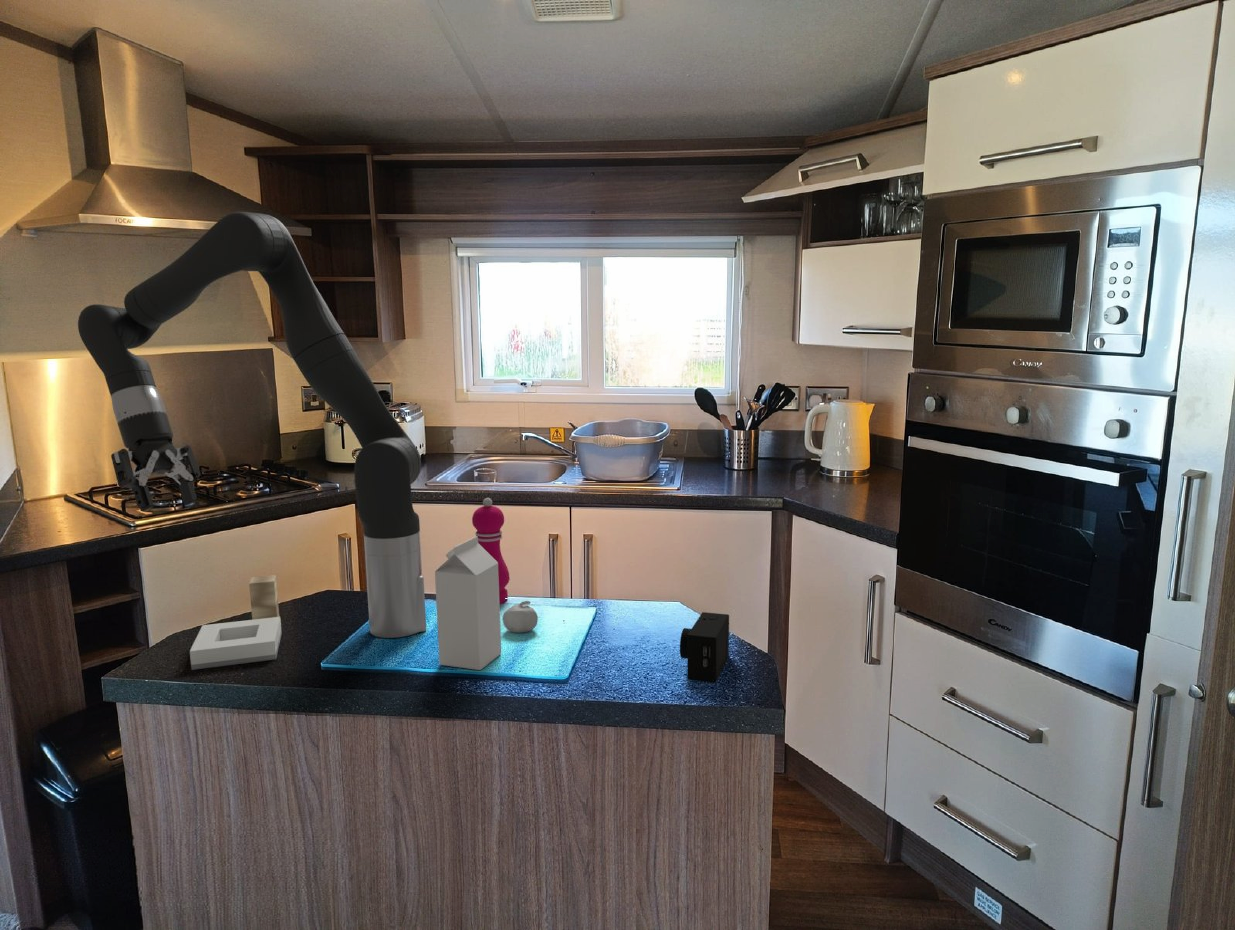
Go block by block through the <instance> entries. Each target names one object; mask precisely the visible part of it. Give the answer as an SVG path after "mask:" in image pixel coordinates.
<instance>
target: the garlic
mask: <svg viewBox="0 0 1235 930" xmlns="http://www.w3.org/2000/svg"><path fill="white" fill-rule="evenodd" d="M530 604H531V601H530V600H523V601H521V602H520V603H519V604H514V605H512V606H511V607H508V609H507V610H505V611H504V612H503V615H502V623H503V626H504V628H505V629H507V630H508V631H509V632H511V633H516V634H517V633H519V634H520V633H521V634H522V633H523V634H524V633H528V632H531V631H533V629H535V628H536V627H537V626H538V620H539V619H538V613H537V612H536V610H535V609H534V608H533V607H531V606H530Z"/></svg>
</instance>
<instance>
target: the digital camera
mask: <svg viewBox="0 0 1235 930" xmlns="http://www.w3.org/2000/svg"><path fill="white" fill-rule="evenodd" d="M729 654H730V614H726V613H716V612H705V611H702V612H701V614H700V615H699V617H698V618H697V620H696V621H695V623H694V625H693V626H692V627H691V628H686V627H684V628H682V630H681V634H680V641H679V655H680V658H681V659H687V660H686V661H687V662H686V663H687V668H686V669H687V680H691V681H697V682H698V681H699V682H706V683H707V682H708V683H714V684H715V683H717V681H718V680H719V677H720V675H721V673H722V671H723V670H724V668H725V665H726V663H727V661H728V659H729V657H730V655H729Z"/></svg>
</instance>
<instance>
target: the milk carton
mask: <svg viewBox="0 0 1235 930" xmlns="http://www.w3.org/2000/svg"><path fill="white" fill-rule="evenodd" d="M445 556H446V557H447V560H445V562H444V563H442V564H441V565H440V566H439V567H438V568H437V569H436V570H435V571H434V580H435V581H434V582H435V602H436V603H435V604H436V619H437V620H436V621H437V622H436V623H437V642H438V663H439V665H440V666H446V667H447V666H448V667H454V668H461V669H462V668H463V669H468V670H469V669H470V670H476V671H481V670H482V669H483V668H485V667H486V666H487V665H489V664H490V663H491V662H492V661H494V660H495V659H496V658H498V657H499V656H500V655H501V654H502V637H501V636H502V634H501V633H502V632H501V609H500V607H501V606H500V605H501V604H500V602H499V576H498V562H497V561H496V560H495V559H494V558H493V557H492V556H491V555H490V554H489V553H488V552H487V551H486V550H485V549H484V548H483V547H482V546H481V545H480V544H479V543H478V536H476V535H475V536H474V537H472V538H470V539H468V540H465V541H464V542H461V543H459V544H457V545H455V546H453V548H452V549H451V550H449V551H448V552H447V553H446V554H445Z"/></svg>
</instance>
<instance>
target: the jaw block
mask: <svg viewBox="0 0 1235 930" xmlns="http://www.w3.org/2000/svg"><path fill="white" fill-rule="evenodd" d="M248 585H249V587H248V588H249V595H250V596H249V597H250V609H251V610H250V611H251V618H252V619H251V620H255V619H264V618H273V617H280V609H279V598H278V587H277V586H278V584H277V575H276V574H275V575H274V574H272V575H263V576H253V577H251V578H250V580H249V584H248Z"/></svg>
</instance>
